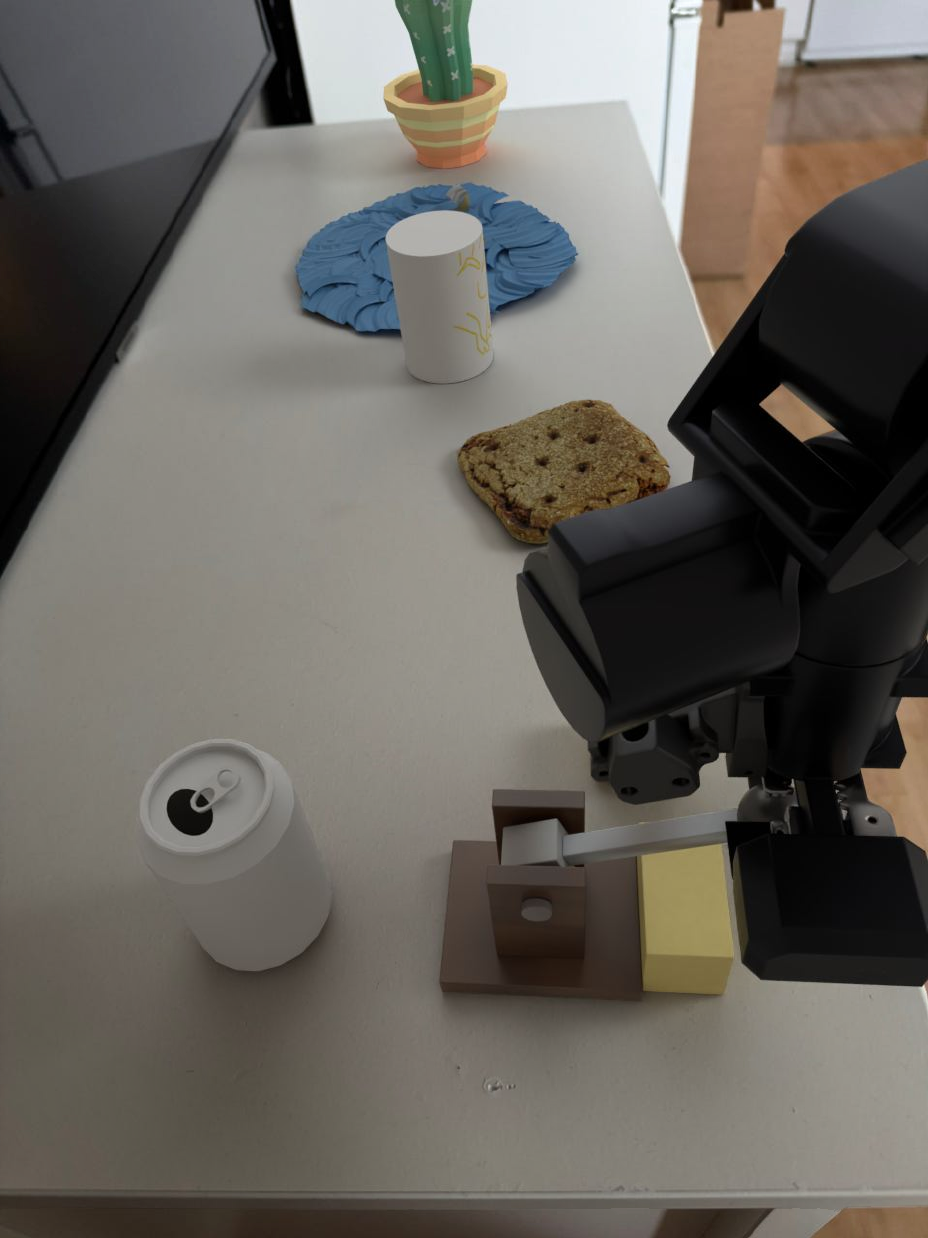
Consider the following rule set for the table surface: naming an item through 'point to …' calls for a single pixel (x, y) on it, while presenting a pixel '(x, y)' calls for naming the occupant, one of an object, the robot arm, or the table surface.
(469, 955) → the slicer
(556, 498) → the pastry
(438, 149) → the potted cactus
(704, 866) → the butter
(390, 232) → the cup
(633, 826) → the blade
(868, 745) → the robot arm
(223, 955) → the can
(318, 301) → the decorative plate
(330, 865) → the table surface
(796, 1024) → the table surface
